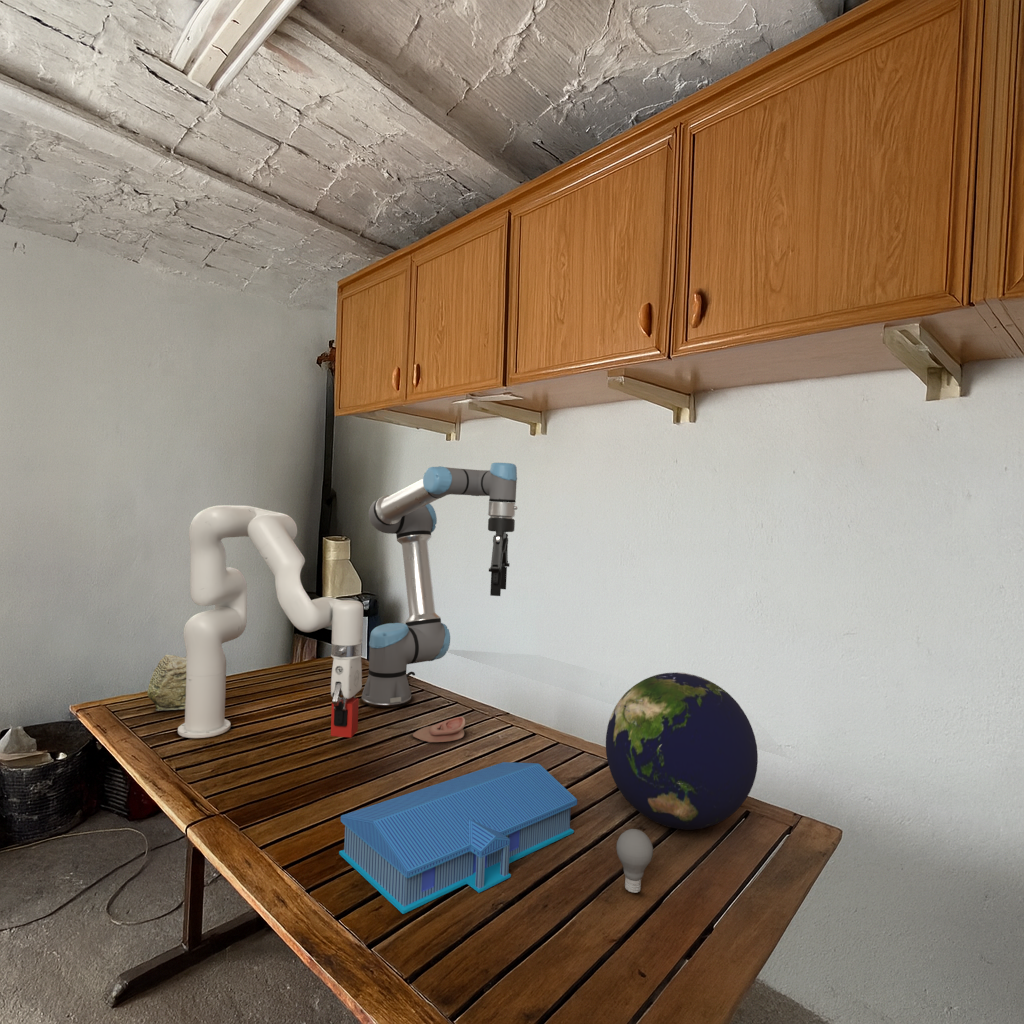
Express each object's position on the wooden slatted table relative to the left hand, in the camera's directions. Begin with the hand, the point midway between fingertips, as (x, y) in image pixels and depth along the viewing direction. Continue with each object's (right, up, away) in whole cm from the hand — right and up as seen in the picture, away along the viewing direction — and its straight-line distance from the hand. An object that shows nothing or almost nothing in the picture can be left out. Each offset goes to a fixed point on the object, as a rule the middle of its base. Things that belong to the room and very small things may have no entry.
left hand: (344, 721), depth 160 cm
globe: (+76, -11, -30) cm, 82 cm away
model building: (+34, -9, -43) cm, 56 cm away
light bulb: (+62, -11, -54) cm, 83 cm away
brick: (0, -3, 0) cm, 3 cm away
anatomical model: (+23, -8, +11) cm, 26 cm away
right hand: (+38, +30, +20) cm, 53 cm away
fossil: (-54, -4, +25) cm, 59 cm away
